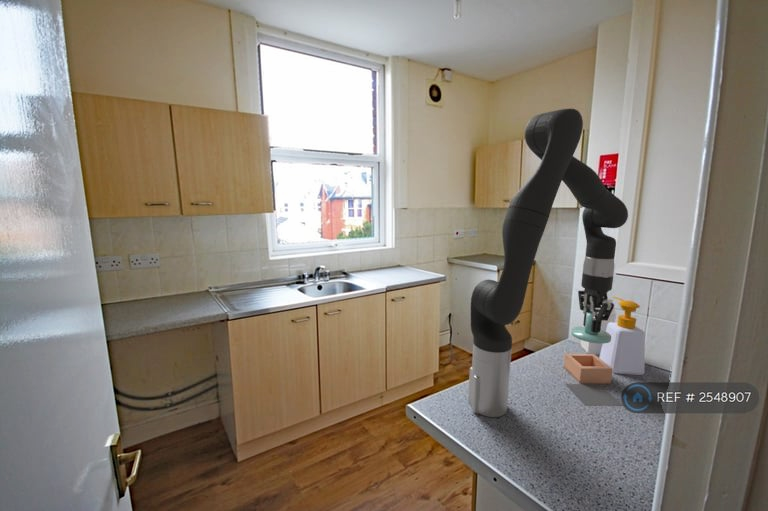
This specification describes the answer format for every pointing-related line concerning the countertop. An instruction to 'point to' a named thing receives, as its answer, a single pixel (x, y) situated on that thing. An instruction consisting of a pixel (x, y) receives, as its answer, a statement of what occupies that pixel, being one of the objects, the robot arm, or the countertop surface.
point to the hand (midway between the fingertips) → (591, 329)
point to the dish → (587, 368)
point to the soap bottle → (625, 343)
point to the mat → (593, 395)
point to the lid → (590, 332)
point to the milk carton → (596, 347)
